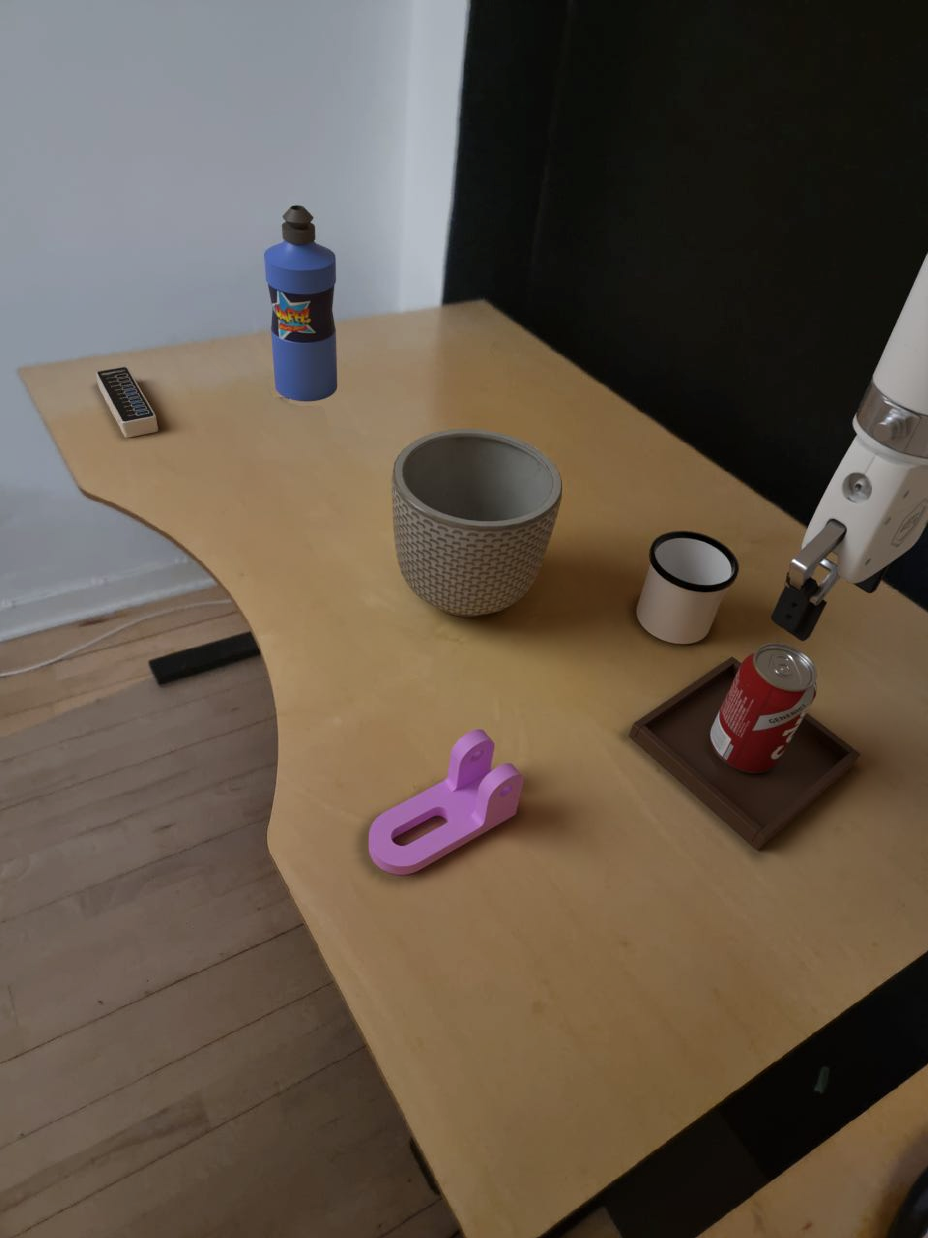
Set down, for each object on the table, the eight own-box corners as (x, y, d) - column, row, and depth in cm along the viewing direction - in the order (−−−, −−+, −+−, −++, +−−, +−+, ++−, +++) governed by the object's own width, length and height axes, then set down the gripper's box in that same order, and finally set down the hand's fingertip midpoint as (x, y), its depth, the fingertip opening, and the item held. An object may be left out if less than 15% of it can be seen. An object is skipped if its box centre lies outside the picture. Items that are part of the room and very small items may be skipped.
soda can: (708, 770, 80) (749, 686, 72) (706, 715, 85) (743, 631, 77) (780, 783, 80) (829, 701, 71) (773, 728, 85) (819, 645, 76)
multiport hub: (125, 438, 111) (121, 422, 110) (98, 386, 120) (94, 371, 118) (159, 431, 113) (156, 416, 112) (130, 380, 122) (127, 365, 120)
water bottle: (323, 407, 121) (317, 226, 104) (263, 393, 122) (246, 212, 105) (347, 377, 128) (345, 202, 110) (290, 364, 129) (279, 189, 112)
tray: (852, 766, 83) (861, 753, 81) (757, 851, 75) (764, 839, 73) (726, 668, 91) (732, 655, 89) (628, 736, 83) (632, 723, 81)
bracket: (479, 770, 78) (487, 723, 74) (515, 814, 75) (526, 768, 71) (356, 835, 72) (356, 789, 68) (390, 886, 69) (393, 841, 65)
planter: (432, 526, 104) (441, 410, 93) (562, 575, 99) (588, 460, 88) (358, 609, 92) (358, 488, 81) (502, 669, 88) (523, 550, 77)
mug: (664, 659, 91) (687, 597, 84) (614, 603, 97) (632, 541, 90) (748, 629, 95) (776, 568, 89) (696, 577, 101) (718, 516, 95)
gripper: (903, 484, 50) (801, 679, 62) (1029, 407, 59) (919, 591, 71) (797, 428, 54) (720, 621, 66) (930, 363, 63) (841, 544, 75)
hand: (823, 605), depth 68 cm, fingers open, 9 cm apart
